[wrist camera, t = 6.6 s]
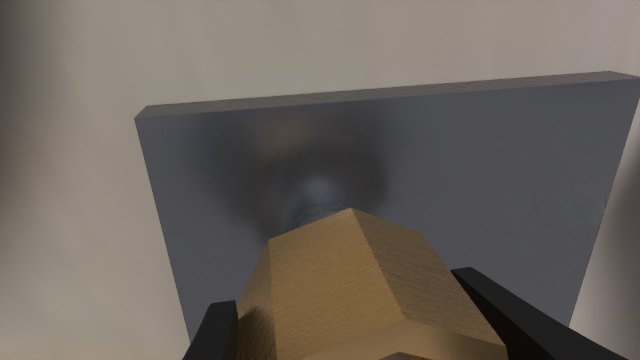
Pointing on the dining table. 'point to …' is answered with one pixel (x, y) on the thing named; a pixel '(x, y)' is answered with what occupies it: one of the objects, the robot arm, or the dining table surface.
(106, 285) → the dining table surface
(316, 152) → the plate
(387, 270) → the wooden octagonal tube
